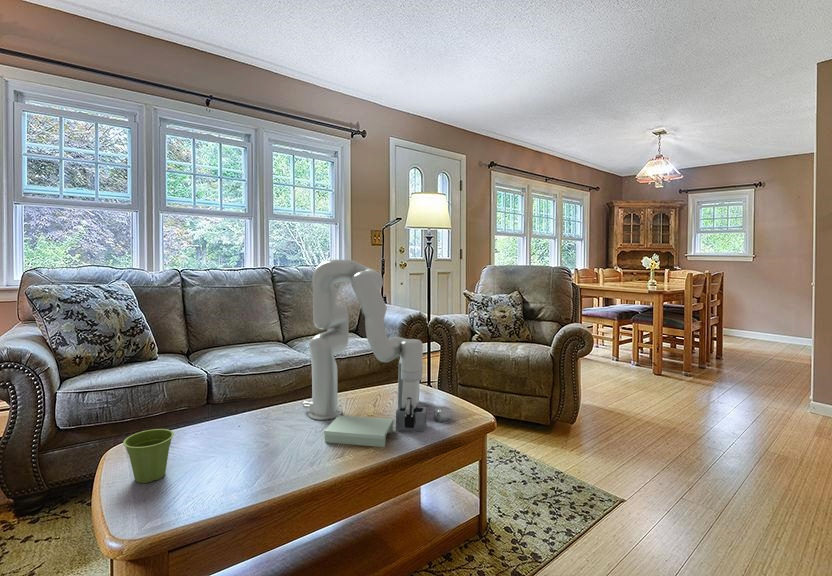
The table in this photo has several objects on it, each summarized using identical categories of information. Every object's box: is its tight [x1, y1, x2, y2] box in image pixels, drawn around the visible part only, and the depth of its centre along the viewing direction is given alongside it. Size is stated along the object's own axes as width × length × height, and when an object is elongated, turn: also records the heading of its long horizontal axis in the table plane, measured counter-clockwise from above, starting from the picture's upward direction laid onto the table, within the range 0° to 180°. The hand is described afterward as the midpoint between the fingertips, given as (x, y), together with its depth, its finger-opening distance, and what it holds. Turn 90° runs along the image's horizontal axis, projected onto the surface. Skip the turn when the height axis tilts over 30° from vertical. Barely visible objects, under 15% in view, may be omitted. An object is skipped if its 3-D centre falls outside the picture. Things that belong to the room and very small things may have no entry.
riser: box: [323, 414, 394, 448], centre depth 147 cm, size 20×14×4 cm
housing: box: [395, 406, 428, 434], centre depth 154 cm, size 10×6×7 cm, turn 81°
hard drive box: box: [397, 357, 404, 408], centre depth 175 cm, size 16×8×20 cm, turn 179°
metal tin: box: [433, 406, 451, 424], centre depth 162 cm, size 6×6×4 cm
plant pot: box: [122, 428, 175, 484], centre depth 119 cm, size 12×12×11 cm
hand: (411, 422), depth 154 cm, fingers open, 8 cm apart
